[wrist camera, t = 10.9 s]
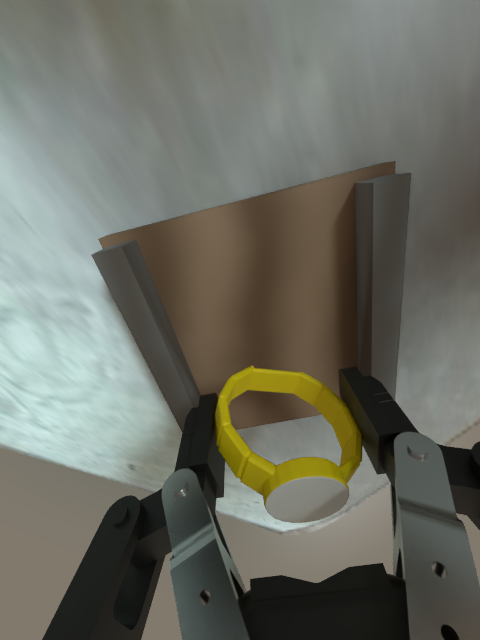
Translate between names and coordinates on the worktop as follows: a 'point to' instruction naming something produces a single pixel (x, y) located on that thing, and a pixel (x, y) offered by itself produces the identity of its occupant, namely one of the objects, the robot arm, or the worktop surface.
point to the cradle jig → (268, 290)
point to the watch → (297, 474)
